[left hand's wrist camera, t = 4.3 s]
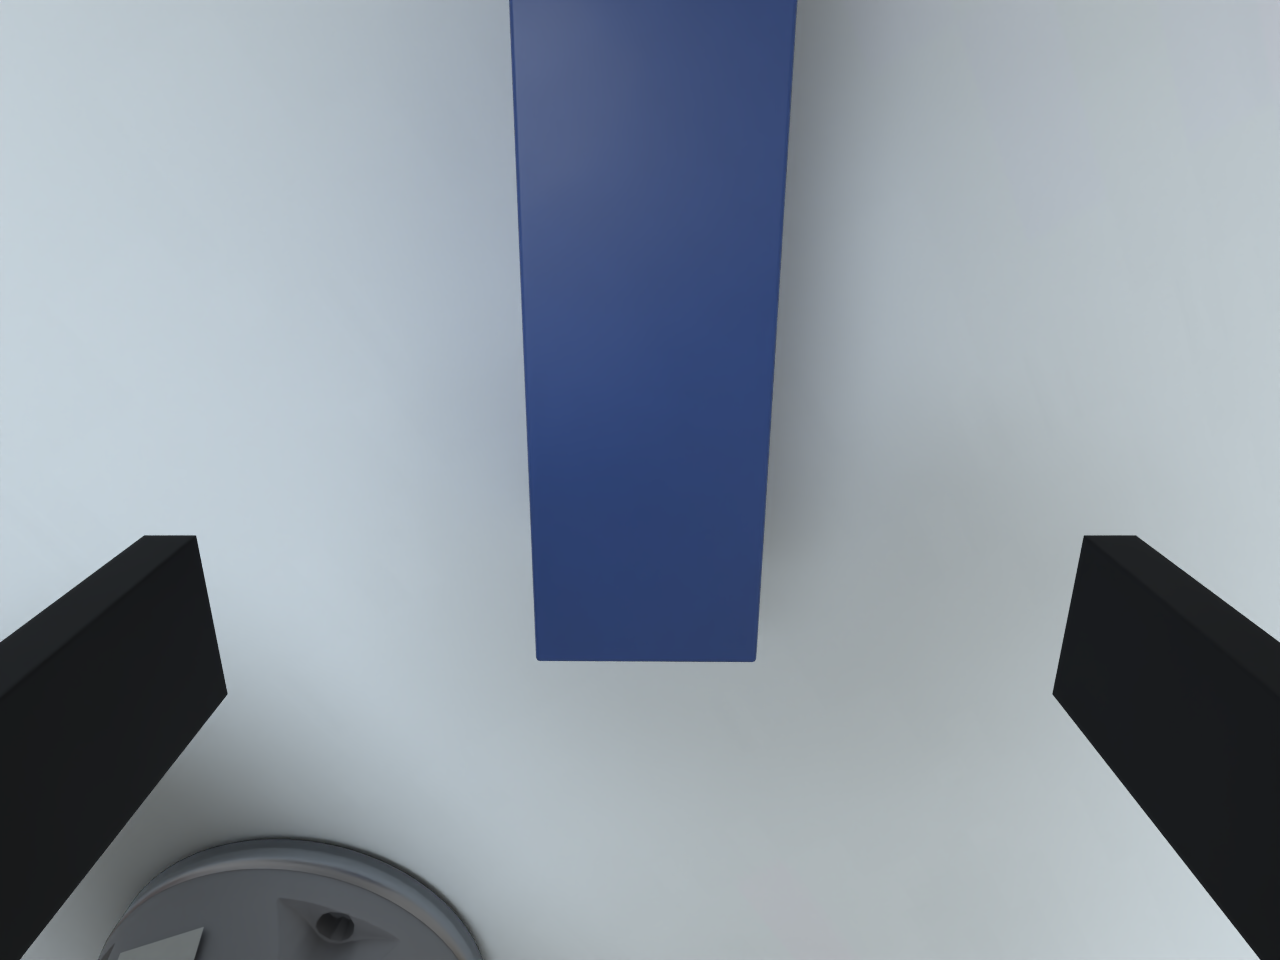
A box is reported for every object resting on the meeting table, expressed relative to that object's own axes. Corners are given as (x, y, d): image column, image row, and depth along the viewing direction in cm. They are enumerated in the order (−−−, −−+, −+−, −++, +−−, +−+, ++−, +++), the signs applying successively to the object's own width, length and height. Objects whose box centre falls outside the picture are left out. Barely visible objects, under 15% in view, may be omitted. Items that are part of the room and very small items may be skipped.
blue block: (547, -67, 22) (500, -189, 15) (751, -65, 22) (810, -187, 15) (563, 528, 28) (535, 662, 21) (724, 529, 28) (757, 663, 21)
